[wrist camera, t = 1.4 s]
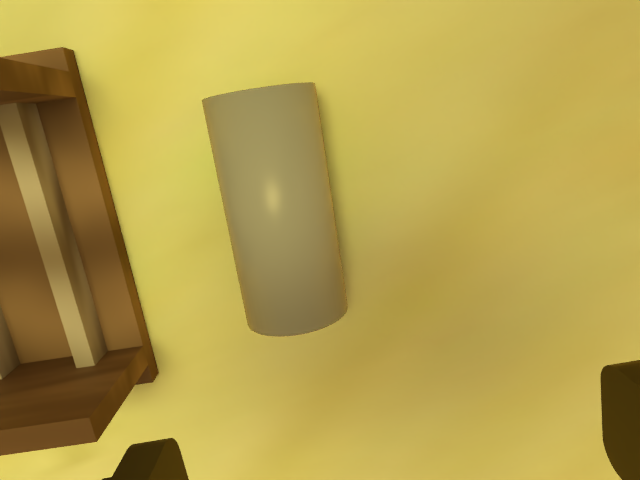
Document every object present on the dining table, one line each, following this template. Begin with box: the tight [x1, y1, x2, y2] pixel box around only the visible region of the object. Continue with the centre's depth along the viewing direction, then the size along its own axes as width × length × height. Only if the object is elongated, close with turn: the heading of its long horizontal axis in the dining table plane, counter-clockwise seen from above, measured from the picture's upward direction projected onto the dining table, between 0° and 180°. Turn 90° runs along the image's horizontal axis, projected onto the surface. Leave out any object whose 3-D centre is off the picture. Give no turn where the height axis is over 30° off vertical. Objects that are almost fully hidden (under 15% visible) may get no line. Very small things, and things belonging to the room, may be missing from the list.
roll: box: [202, 83, 347, 336], centre depth 23 cm, size 11×5×5 cm, turn 9°
